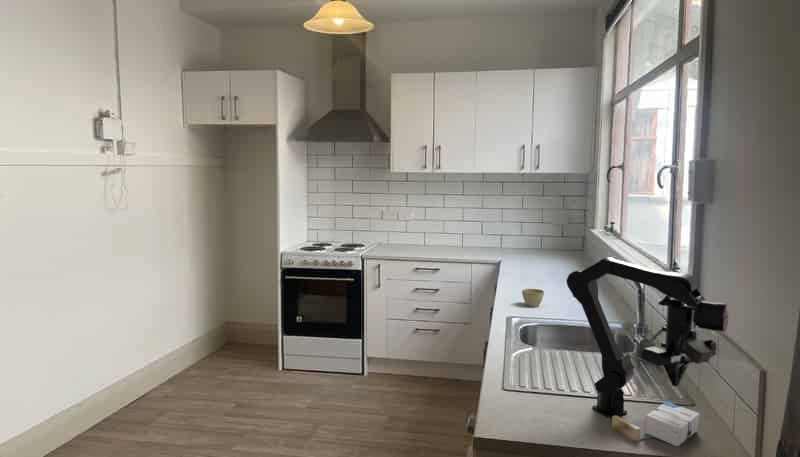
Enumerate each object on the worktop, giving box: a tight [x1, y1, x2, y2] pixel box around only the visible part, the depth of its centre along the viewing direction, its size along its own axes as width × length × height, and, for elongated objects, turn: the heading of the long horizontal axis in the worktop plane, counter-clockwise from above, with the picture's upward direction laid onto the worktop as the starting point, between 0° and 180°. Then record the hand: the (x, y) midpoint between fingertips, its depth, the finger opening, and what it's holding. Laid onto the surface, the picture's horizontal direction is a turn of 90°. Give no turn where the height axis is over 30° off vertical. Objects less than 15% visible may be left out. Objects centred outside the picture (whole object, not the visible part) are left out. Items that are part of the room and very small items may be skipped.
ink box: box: [644, 401, 701, 447], centre depth 146 cm, size 8×5×12 cm
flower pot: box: [521, 288, 545, 308], centre depth 276 cm, size 10×10×7 cm
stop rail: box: [611, 415, 641, 442], centre depth 146 cm, size 8×1×3 cm, turn 23°
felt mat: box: [629, 418, 655, 441], centre depth 149 cm, size 8×13×1 cm, turn 114°
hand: (675, 385), depth 148 cm, fingers closed
